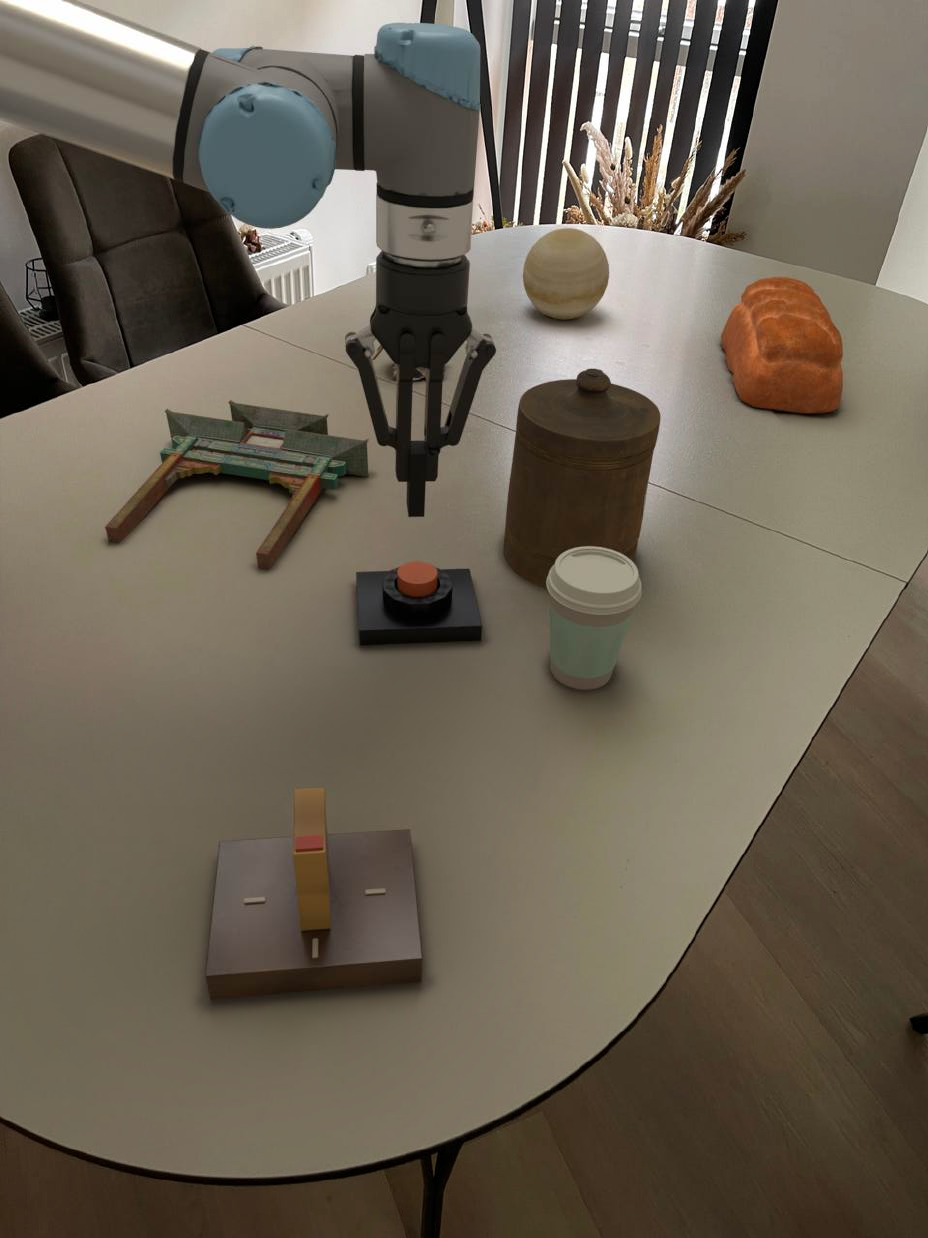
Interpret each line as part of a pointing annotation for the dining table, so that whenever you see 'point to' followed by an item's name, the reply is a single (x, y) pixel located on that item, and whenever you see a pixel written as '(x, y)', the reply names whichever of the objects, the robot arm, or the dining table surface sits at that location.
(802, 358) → the bread
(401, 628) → the button block
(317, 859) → the lock knob
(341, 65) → the robot arm
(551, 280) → the decorative ball
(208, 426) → the miniature gate
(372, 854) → the plate
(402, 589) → the bell button
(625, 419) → the wooden container
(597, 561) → the coffee cup
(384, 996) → the dining table surface
